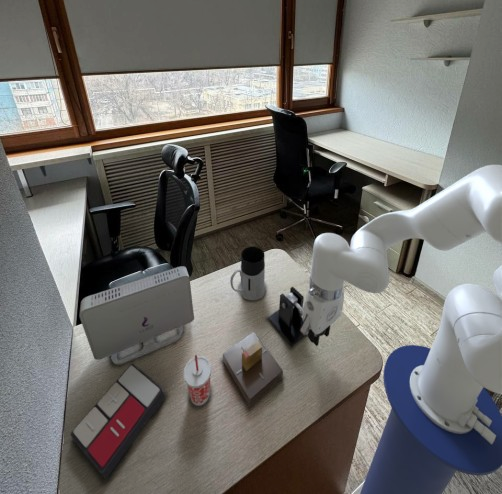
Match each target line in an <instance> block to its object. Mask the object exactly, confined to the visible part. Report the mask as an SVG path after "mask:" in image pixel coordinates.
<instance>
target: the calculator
mask: <svg viewBox="0 0 502 494" xmlns="http://www.w3.org/2000/svg"><path fill="white" fill-rule="evenodd" d="M165 399H166V395H165V392H164V389H163V388H162V387H161V386H160V385H159V384H158V383H156V382H155V381H154V380H153V379H152V378H151V377H149V376H148V375H147V374H146V373H144V371H142V370H141V369H140V368H138V366H137V365H135V364H134V363H130V365H129V366H128V367H127V368H126V369H125V370H124V371H123V373H121V375H120V376H119V377H118V378H117V379H116V380H115V382H114V383H113V384H112V385H111V386H110V387H109V388H108V390H107V391H105V393H104V395H102V397H101V398H100V399H99V400H98V401H97V402H96V404H94V406H93V407H91V409H90V410H89V412H87V414H86V415H85V416H84V418H82V419H81V420H80V421H79V423H78V424H77V425H76V426H75V428H74V429H73V430H72V431H71V432H70V437H71V438H72V441H74V443H75V444H76V445H77V446H78V448H79V449H80V450H81V452H83V454H84V455H85V456H86V458H87V459H88V460H89V461H90V463H91V464H92V465H93V466H94V467H95V469H96V470H97V471H98V472H99V473H100V475H101V476H102V477H103V478H104V479H108V478H109V476H110V475H111V473H113V471H114V470H115V468H116V466H117V465H118V464H119V462H120V461H121V459H122V458H123V456H124V455H125V453H126V452H127V451H128V449H129V448H130V446H132V444H133V442H134V441H135V440H136V439H137V437H138V435H139V434H140V433H141V431H142V430H143V428H144V427H145V425H146V424H147V423H148V422H149V420H150V419H151V418H152V417H153V416H154V415H155V413H156V412H157V410H159V408H160V406H161V405H162V403H163V402H164V400H165Z"/></svg>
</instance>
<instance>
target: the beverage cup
mask: <svg viewBox="0 0 502 494" xmlns="http://www.w3.org/2000/svg"><path fill="white" fill-rule="evenodd" d="M211 364H212V363H211V361H210V360H209V359H208V358H207V357H205V356H203V355H197V354H195V355H194V357H192V358H191V359H189V361H187V363H186V365H184V369H183V379H184V382H185V383H186V386H187V390H188V393H189V397H190V401H191V403H192V404H193V405H195V406H202V405H204V404H206V403H207V402H208V400H209V398H210V396H211V395H210V394H211V377H212V376H211V375H212V365H211Z"/></svg>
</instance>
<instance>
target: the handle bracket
mask: <svg viewBox="0 0 502 494" xmlns="http://www.w3.org/2000/svg"><path fill="white" fill-rule="evenodd" d="M289 293H292V294H293V295H294V296H295V297H296V298H297V299H298V304H299V305H300V306H301V307H302V308H304V302H305V297H304V295H302V293H300V291H298V289H296V288H295V287H294V286H291V287H290V289H289ZM286 296H287V295H285V294H284V293H281V294H279V304H278V305H279V306H278V307H279V308H278V309H277V310H276V311H274V312H273V313H271V314H270V315H269V316H268V317H267V318H268V321H269V322H270V323H271V324H272V326H273V328H275V329H276V331H278V333H279V334H280V335H281V336H282V338H283V339H284V340H285V341H286V342H287V343H288V345H289V347H291V348H293V346H294V345H296V344H297V343H298V342H299V341H301V340H302V339H303V338H304V337H305V336H306V335H303V334H302V333H301V331H300V330H301V328H302V326H303V324H304V322H303V316H302V314H301V313H300V312H299V311H298V310H297V309H296V308H295V307H294V308H293V303H292V302H291V301H290V300H289V299H288V298H287V297H286Z"/></svg>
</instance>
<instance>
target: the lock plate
mask: <svg viewBox="0 0 502 494" xmlns="http://www.w3.org/2000/svg"><path fill="white" fill-rule="evenodd" d="M257 341H258V342H259V343H260V344H261V346H262V359H260V360H259V361H258V362H257V363H256V364H254V365H253V366H252V367H251V368H250V369H248V370H247V371H245V369H244V368H243V366H242V353H243V352H244V351H245V350H247V349H248V348H249V347H251V346H252V345H253V344H255V343H256V342H257ZM266 347H267V346H265V344H264V343H263V342H262V341H261V339H260V338H259V336H258V335H257V334H256V332H255V331H252V332H251V333H249V334H248V335H247V336H245V337H244V338H242V339H241V340H240V341H238V342H237V343H236V344H234V345H232V347H230V348H229V349H227V350H226V351H224V352H223V353H222V362H223V364H224V365H225V367H226V369H227V370H228V372H229V374H230V375H231V377H232V379H233V381H234V382H235V384H236V386H237V387H238V389H239V391H240V393H241V395H242V396H243V398H244V400H245V401H246V404H247V405H248V407H252V406H253V405H254V404H255V403H256V402H257V401H258V400H259V399H261V398H262V397H263V396H264V395H265V394H267V392H269V390H270V389H272V388H273V387H274V386H275V385H276V384H277V383H278V382H279V381H280V380H282V379H283V375H284V373H283V372H284V370H283V369H282V367H281V366H280V364H278V362H277V361H276V359H275V358H274V357H273V355H272V354H271V352H270V351H269V349H267V348H266Z"/></svg>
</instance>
